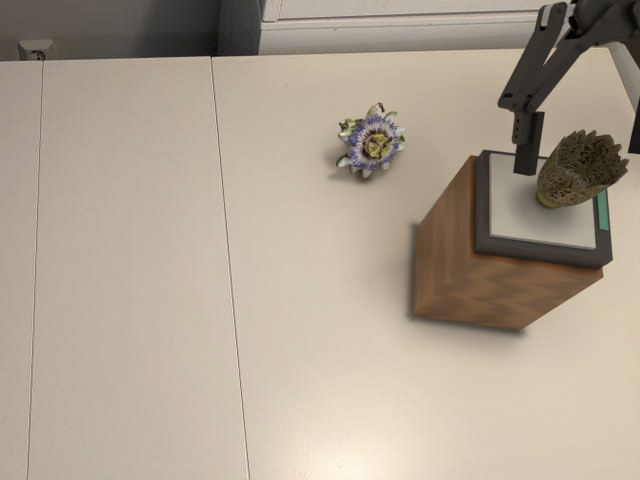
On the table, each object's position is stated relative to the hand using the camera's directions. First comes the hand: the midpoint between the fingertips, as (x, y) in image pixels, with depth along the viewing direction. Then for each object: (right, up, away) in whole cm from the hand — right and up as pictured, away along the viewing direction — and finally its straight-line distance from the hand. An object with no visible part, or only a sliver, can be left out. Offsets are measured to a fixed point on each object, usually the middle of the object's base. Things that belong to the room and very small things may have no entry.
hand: (582, 164), depth 63 cm
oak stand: (+1, -9, +26) cm, 27 cm away
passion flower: (-13, +13, +34) cm, 39 cm away
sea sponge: (0, -2, +6) cm, 6 cm away
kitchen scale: (0, -3, +9) cm, 9 cm away
